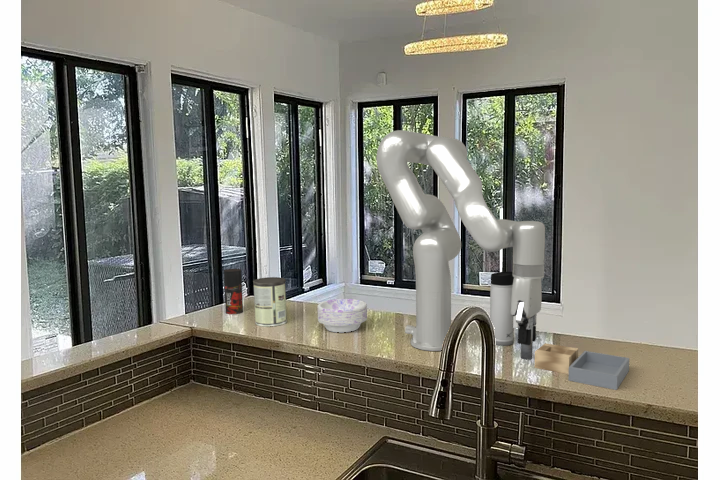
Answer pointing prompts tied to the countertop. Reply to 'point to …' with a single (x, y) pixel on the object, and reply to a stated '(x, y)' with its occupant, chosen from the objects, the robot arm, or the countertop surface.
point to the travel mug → (502, 307)
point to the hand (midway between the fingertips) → (526, 341)
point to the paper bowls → (342, 314)
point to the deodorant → (233, 291)
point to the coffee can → (270, 301)
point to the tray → (599, 369)
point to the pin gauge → (527, 349)
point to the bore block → (555, 358)
